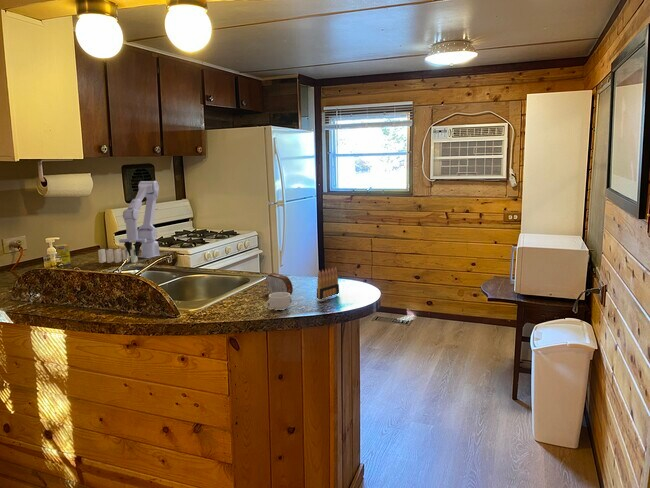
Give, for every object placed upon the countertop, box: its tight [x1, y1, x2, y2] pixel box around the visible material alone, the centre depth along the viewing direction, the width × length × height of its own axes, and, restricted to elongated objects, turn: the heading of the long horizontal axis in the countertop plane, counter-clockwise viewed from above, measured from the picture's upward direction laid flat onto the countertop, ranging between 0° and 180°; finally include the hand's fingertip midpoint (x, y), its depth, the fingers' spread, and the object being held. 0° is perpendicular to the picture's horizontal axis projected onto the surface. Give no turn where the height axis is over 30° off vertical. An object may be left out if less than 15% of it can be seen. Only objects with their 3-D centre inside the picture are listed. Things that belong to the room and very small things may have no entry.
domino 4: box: [121, 248, 131, 263], centre depth 270 cm, size 2×5×7 cm, turn 177°
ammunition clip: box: [316, 265, 340, 299], centre depth 187 cm, size 11×2×12 cm, turn 136°
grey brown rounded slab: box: [265, 272, 294, 296], centre depth 193 cm, size 15×3×8 cm, turn 41°
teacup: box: [265, 292, 291, 310], centre depth 174 cm, size 10×8×5 cm
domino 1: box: [97, 248, 107, 264], centre depth 270 cm, size 2×5×7 cm, turn 177°
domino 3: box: [113, 248, 123, 264], centre depth 270 cm, size 2×5×7 cm, turn 177°
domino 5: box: [130, 248, 139, 263], centre depth 269 cm, size 2×5×7 cm, turn 178°
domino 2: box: [105, 248, 115, 264], centre depth 270 cm, size 2×5×7 cm, turn 177°
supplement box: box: [52, 243, 72, 267], centre depth 264 cm, size 6×6×11 cm
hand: (134, 255), depth 270 cm, fingers open, 3 cm apart
